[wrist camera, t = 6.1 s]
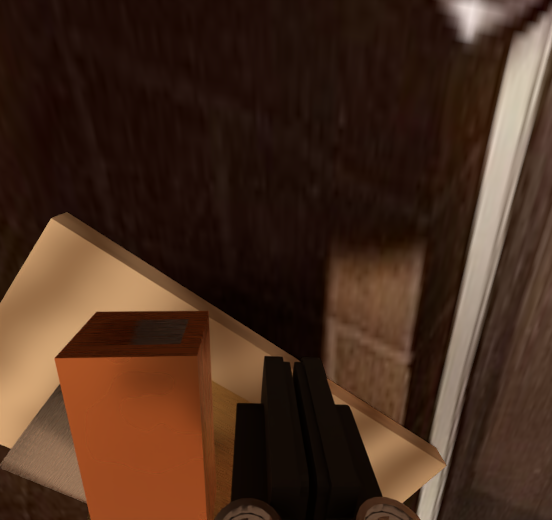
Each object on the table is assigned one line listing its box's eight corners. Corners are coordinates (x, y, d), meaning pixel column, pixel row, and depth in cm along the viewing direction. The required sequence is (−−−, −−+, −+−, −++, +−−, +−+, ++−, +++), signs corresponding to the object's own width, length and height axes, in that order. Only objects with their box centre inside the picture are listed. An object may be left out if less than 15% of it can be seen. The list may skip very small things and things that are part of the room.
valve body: (364, 467, 24) (431, 662, 15) (293, 531, 26) (315, 740, 17) (107, 321, 19) (-24, 485, 10) (41, 414, 21) (-121, 626, 12)
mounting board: (435, 447, 26) (446, 465, 24) (310, 556, 29) (313, 577, 28) (66, 212, 18) (51, 218, 17) (-47, 397, 21) (-68, 415, 20)
